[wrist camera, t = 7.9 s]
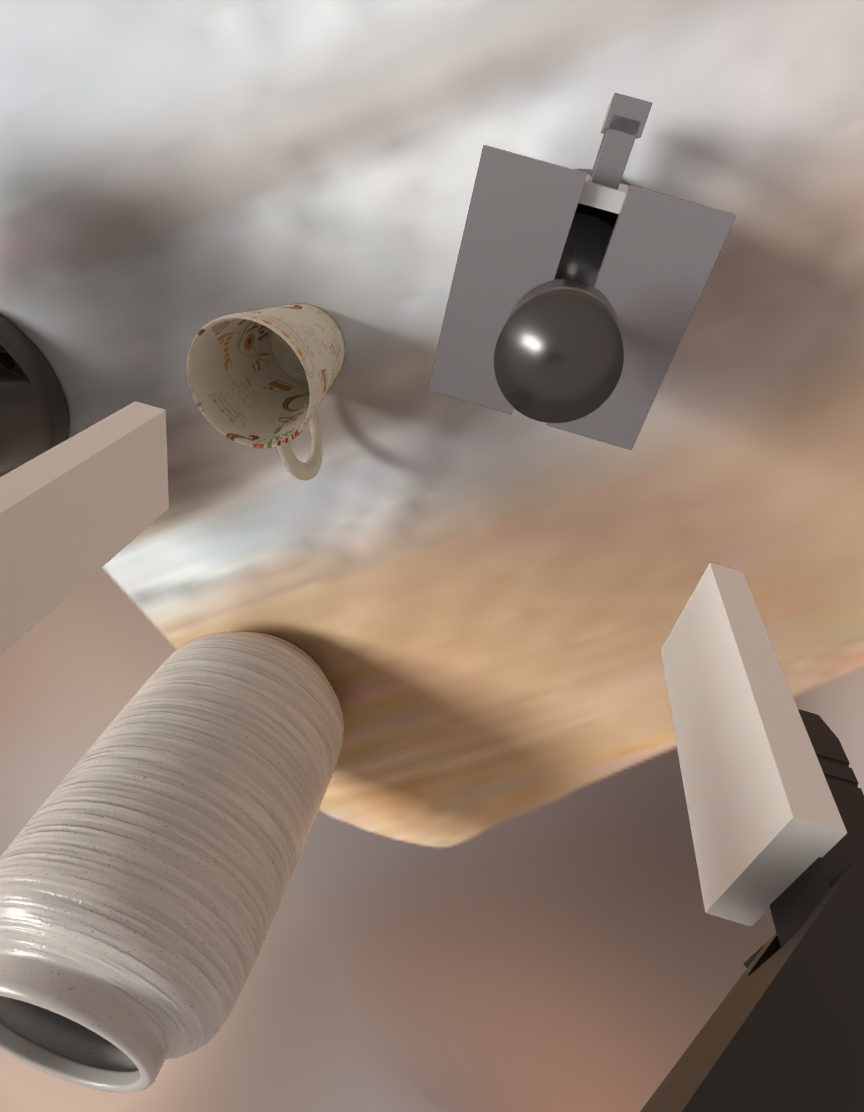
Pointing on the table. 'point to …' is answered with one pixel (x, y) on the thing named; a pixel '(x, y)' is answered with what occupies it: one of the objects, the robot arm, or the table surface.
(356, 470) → the table surface
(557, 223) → the grey french press
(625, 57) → the table surface
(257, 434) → the mug
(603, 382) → the plunger
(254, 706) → the vase
